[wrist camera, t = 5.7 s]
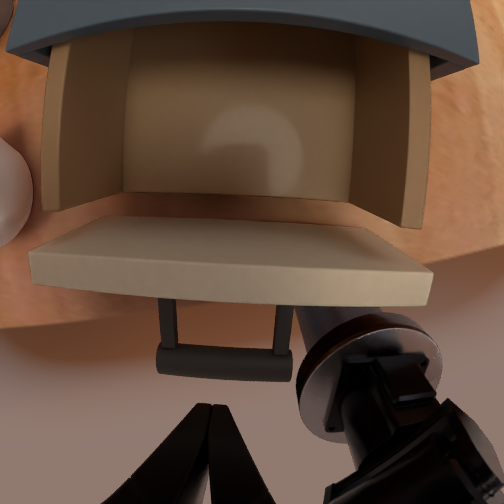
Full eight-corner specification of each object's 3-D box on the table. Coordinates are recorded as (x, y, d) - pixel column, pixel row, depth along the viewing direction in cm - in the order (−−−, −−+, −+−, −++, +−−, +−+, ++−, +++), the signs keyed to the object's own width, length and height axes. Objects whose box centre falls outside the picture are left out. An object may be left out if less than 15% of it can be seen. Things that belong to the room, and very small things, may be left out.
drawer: (349, 330, 17) (391, 412, 11) (114, 317, 17) (59, 390, 10) (374, 21, 12) (434, -38, 6) (120, 12, 12) (61, -46, 6)
